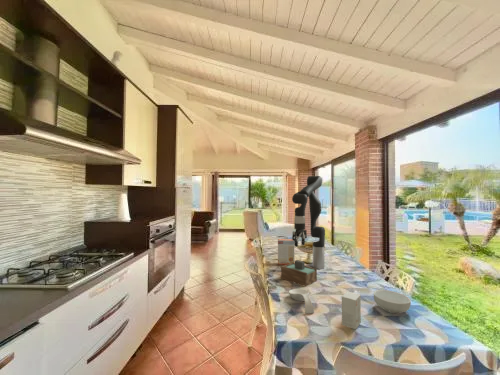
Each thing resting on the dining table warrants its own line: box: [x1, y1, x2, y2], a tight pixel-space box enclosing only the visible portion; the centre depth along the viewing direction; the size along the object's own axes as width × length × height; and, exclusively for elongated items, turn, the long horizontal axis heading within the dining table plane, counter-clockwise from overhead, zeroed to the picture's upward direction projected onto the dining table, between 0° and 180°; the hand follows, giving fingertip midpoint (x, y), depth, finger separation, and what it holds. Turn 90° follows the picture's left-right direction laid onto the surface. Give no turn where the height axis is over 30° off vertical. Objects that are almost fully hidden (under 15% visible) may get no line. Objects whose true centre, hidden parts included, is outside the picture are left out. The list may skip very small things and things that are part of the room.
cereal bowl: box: [373, 289, 412, 314], centre depth 124 cm, size 17×17×7 cm
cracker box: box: [277, 238, 295, 266], centre depth 204 cm, size 14×6×21 cm, turn 84°
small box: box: [341, 290, 362, 330], centre depth 110 cm, size 8×6×13 cm
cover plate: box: [287, 259, 315, 275], centre depth 166 cm, size 10×18×6 cm, turn 45°
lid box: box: [280, 262, 318, 287], centre depth 166 cm, size 14×20×8 cm
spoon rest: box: [288, 288, 315, 315], centre depth 131 cm, size 24×12×7 cm, turn 7°
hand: (299, 245), depth 166 cm, fingers open, 8 cm apart
